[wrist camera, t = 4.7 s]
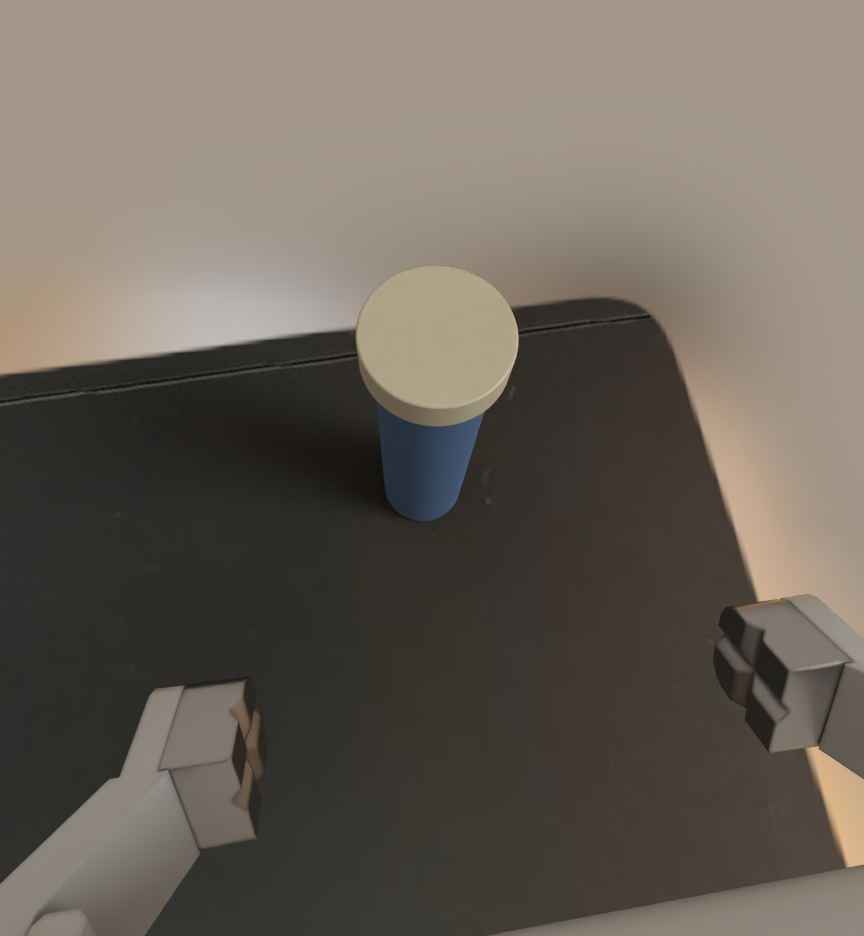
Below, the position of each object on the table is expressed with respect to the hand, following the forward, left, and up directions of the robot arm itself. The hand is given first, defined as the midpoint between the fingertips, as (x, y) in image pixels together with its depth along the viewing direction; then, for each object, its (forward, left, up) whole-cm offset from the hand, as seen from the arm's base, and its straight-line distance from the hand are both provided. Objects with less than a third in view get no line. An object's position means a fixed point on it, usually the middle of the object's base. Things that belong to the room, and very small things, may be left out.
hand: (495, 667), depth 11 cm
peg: (0, -7, -11) cm, 13 cm away
